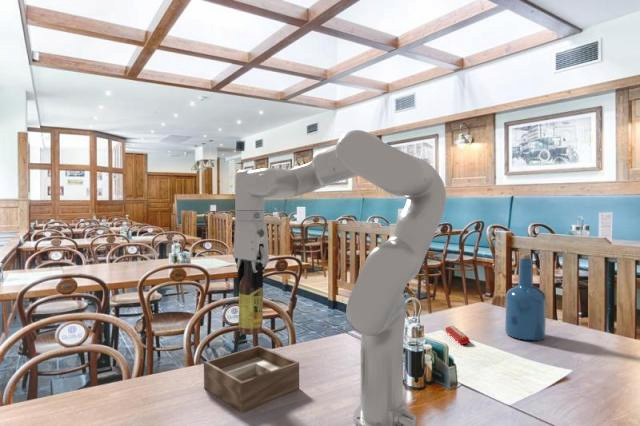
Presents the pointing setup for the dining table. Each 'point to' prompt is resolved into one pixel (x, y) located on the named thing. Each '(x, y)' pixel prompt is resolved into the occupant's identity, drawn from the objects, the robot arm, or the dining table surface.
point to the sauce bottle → (250, 303)
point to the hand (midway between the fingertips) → (250, 284)
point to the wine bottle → (525, 306)
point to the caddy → (251, 377)
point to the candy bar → (457, 335)
